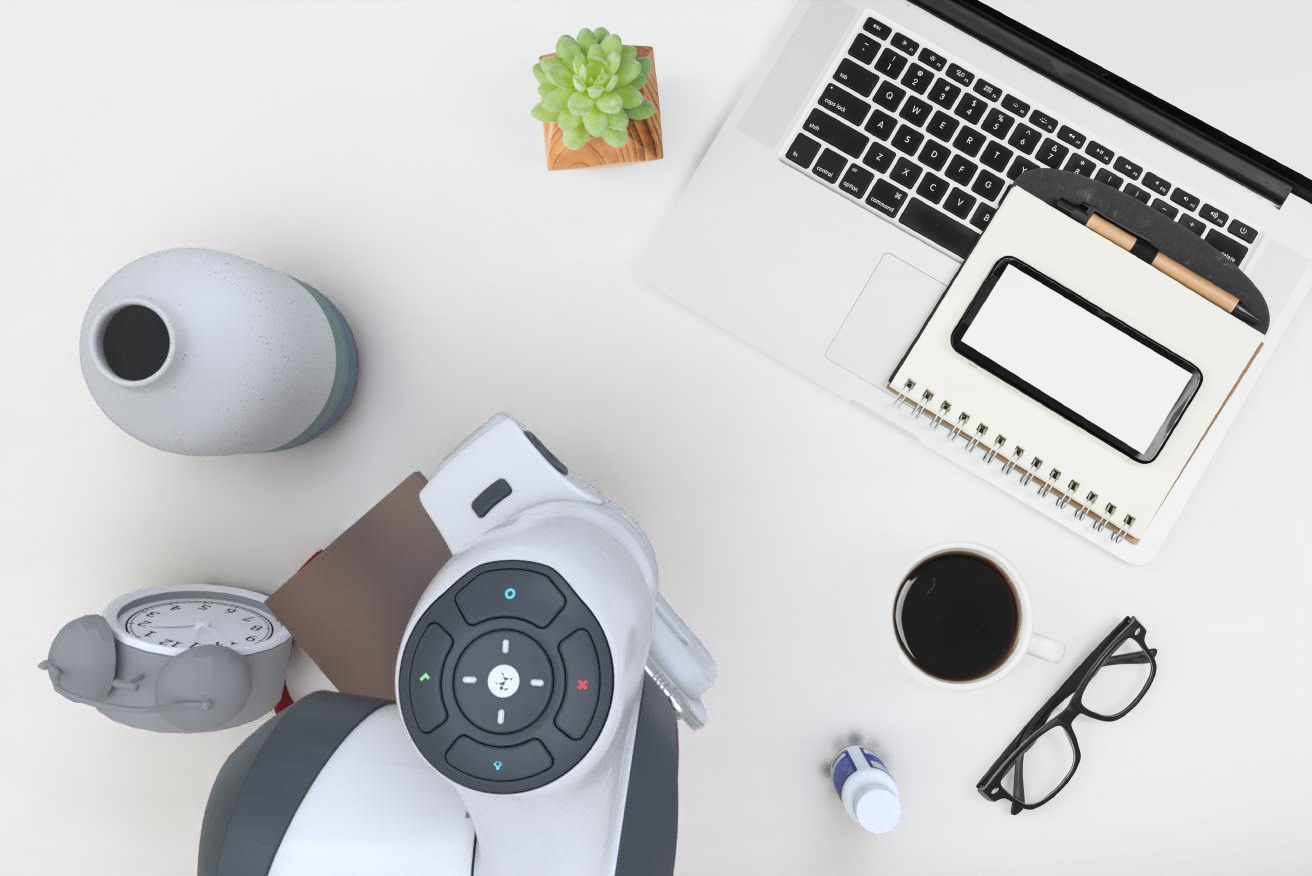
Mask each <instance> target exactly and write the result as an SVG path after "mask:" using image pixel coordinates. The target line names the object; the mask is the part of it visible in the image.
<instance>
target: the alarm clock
mask: <svg viewBox="0 0 1312 876" xmlns="http://www.w3.org/2000/svg"><path fill="white" fill-rule="evenodd" d="M269 596H270V595H266V594H263V593H260V592H256V591H253V590H249V589H245V588H240V587H234V586H228V585H220V584H219V585H218V584H210V583H176V584H175V583H173V584H163V585H162V584H161V585H156V586H155V585H154V586H151V587H143V588H139V589H136V590H133V591H130V592H127V593H123V594H122V595H119V596H118V597H116V598H114V599H113V600H111V601H110V602H109V603H108V604H107V605H106V607H104V609H103V611H102V615H101V614H99V613H95V614H85V615H83V616H80V617H77V618H75V619H73V620H71V621H69V622H67V623H66V624H65V625H64V626H63V627H61V628H60V630H59V631H58V632H57V634H56V635H55V637H54V639H53V640H52V642H51V645H50V648H49V651H48V653H47V659H45V660H44V659H43V660H42V661H41V662H39V663H38V664H37V668H38V669H39V670H40V669H41V670H42V671H47V673H48V677H49V679H50V681H51V683H52V688H53V689H54V692H56V693H58V694H59V695H60V696H61V697H63V698H65V699H67V700H68V701H70V702H73V703H76V704H82V705H83V704H85V705H87V706H90V707H93V708H96V710H97V712H99V713H100V714H102V715H104V716H105V717H107V718H108V719H110V720H111V721H113V722H116V723H117V724H121V725H124V726H128V727H129V728H133V729H138V730H142V731H149V732H154V733H161V734H163V733H164V734H183V735H184V734H185V735H189V734H200V733H213V732H214V733H215V732H219V731H223V730H229V729H233V728H238V727H240V726H243V725H247V724H250V723H252V722H255V721H258V720H259V719H260V718H262V717H264V716H265V715H267V714H269V713H270V712H272V711H274V709H273V708H274V707H275V706H276V705H277V704H278V703H279V701H280V700H281V697H282V692H283V687H284V682H285V680H286V676H287V672H288V671H287V670H288V665H289V660H290V656H291V655H290V654H291V651H292V644H293V639H294V638H293V636H292V635H291V634H290V633H289V632H288V630H287V629H286V628H285V627H284V626H283V624H282V623H281V622H280V621H277V617H276V616H275V615H274V614H273V613H272V611H271V610H270V609H269V608H268V607H267V606H266V604H265V603H264V601H265V600H266V599H267V598H268V597H269Z"/></svg>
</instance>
